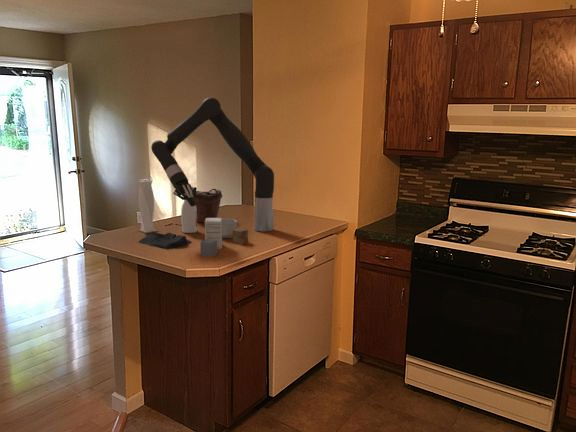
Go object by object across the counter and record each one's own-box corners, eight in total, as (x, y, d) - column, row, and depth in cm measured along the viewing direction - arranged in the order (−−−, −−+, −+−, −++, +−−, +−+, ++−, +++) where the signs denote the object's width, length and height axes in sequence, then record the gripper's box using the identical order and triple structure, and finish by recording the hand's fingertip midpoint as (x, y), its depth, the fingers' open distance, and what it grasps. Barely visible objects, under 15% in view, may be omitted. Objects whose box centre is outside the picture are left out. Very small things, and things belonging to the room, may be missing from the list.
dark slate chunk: (160, 236, 242) (160, 227, 241) (194, 244, 231) (194, 234, 230) (135, 243, 230) (135, 233, 229) (169, 251, 218) (169, 240, 217)
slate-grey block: (207, 252, 216) (207, 239, 214) (217, 254, 214) (217, 240, 212) (200, 255, 211) (200, 241, 210) (210, 257, 209) (210, 243, 208)
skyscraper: (159, 231, 251) (158, 176, 245) (145, 234, 245) (143, 177, 239) (150, 228, 256) (148, 174, 250) (136, 231, 250) (134, 175, 245)
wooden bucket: (229, 218, 283) (229, 187, 279) (206, 225, 266) (205, 192, 263) (206, 215, 292) (205, 185, 289) (181, 221, 276) (180, 189, 272)
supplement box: (206, 244, 228) (205, 217, 226) (222, 244, 229) (222, 217, 226) (204, 249, 221) (204, 221, 218) (221, 249, 222) (221, 221, 219)
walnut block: (240, 240, 237) (240, 228, 236) (248, 242, 234) (248, 229, 233) (232, 242, 233) (232, 229, 232) (240, 244, 230) (240, 231, 229)
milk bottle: (193, 233, 247) (193, 194, 243) (179, 232, 249) (178, 193, 245) (199, 230, 255) (199, 191, 251) (185, 229, 256) (184, 190, 252)
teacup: (240, 235, 247) (240, 219, 245) (231, 240, 237) (230, 223, 235) (215, 232, 251) (215, 217, 250) (204, 237, 241) (204, 221, 239)
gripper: (168, 172, 227) (186, 202, 222) (191, 170, 237) (208, 198, 232) (161, 182, 232) (178, 212, 227) (184, 180, 242) (201, 208, 237)
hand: (194, 205), depth 229 cm, fingers closed
